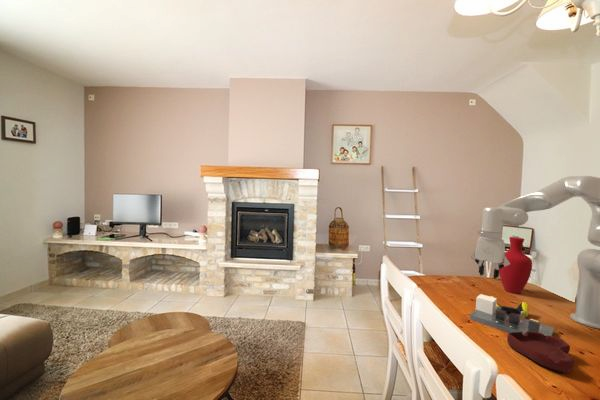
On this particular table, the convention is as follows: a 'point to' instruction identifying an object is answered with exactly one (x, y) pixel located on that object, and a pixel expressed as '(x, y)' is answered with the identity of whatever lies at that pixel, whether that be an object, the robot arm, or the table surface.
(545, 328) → the panel
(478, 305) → the chalk-white cube
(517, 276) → the vase
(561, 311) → the table surface
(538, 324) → the toggle
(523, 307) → the gaming controller
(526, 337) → the ashtray
